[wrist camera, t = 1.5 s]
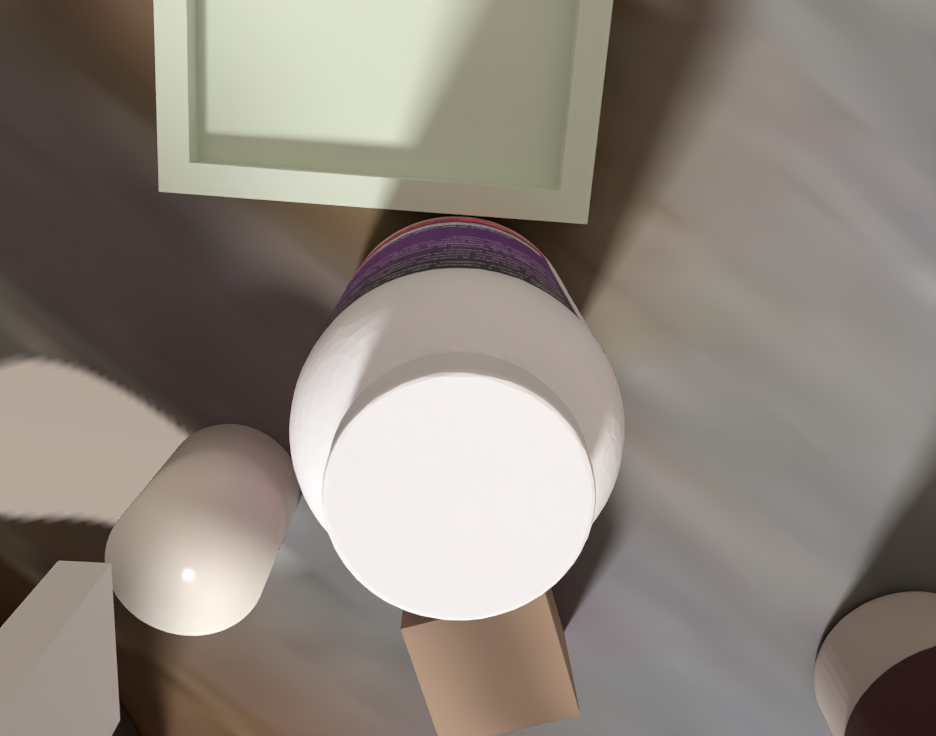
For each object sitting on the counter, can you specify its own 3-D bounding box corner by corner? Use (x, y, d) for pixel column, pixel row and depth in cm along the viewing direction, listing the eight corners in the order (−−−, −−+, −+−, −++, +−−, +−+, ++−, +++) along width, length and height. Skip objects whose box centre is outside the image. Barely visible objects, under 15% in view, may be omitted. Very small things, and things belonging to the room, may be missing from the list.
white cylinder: (168, 540, 33) (108, 630, 28) (165, 419, 32) (101, 488, 26) (298, 548, 34) (265, 640, 28) (301, 428, 32) (266, 499, 26)
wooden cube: (444, 660, 35) (442, 747, 30) (408, 554, 34) (400, 629, 29) (563, 631, 35) (580, 714, 30) (533, 523, 33) (545, 593, 29)
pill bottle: (297, 306, 31) (165, 471, 17) (475, 163, 29) (489, 215, 16) (440, 470, 33) (425, 738, 19) (614, 343, 31) (735, 532, 17)
